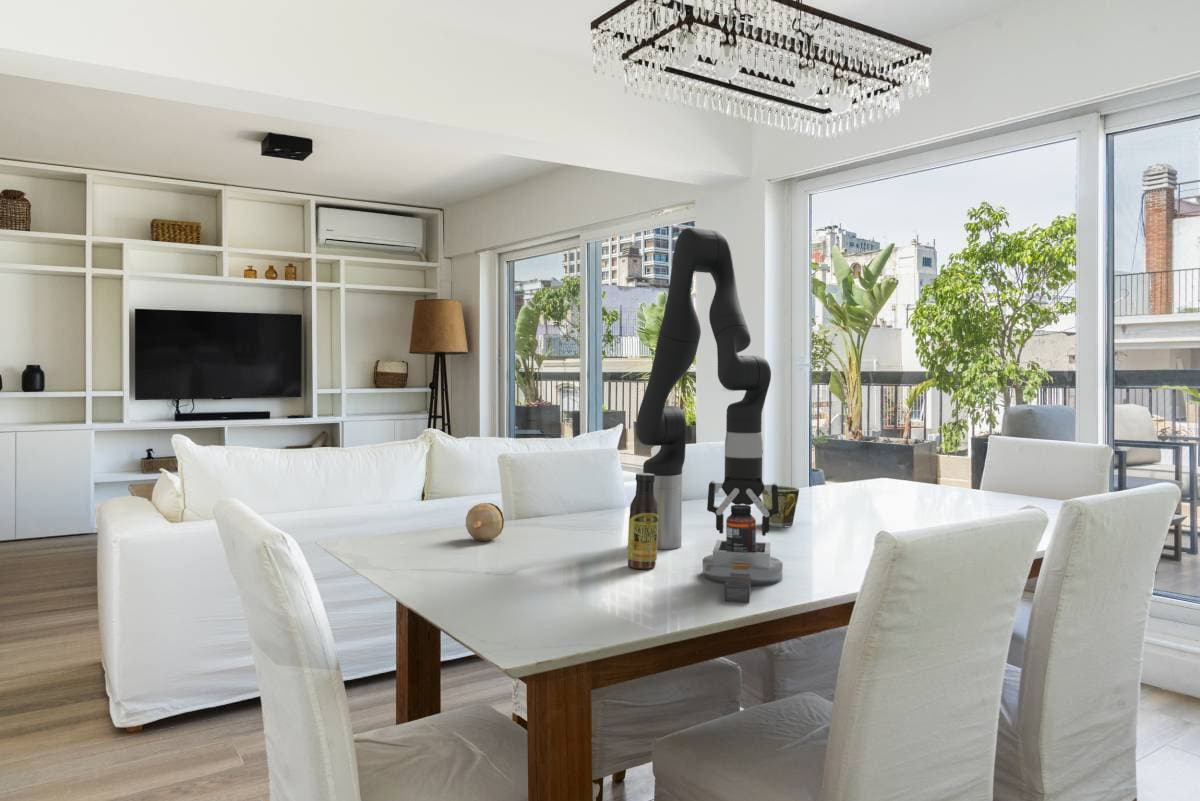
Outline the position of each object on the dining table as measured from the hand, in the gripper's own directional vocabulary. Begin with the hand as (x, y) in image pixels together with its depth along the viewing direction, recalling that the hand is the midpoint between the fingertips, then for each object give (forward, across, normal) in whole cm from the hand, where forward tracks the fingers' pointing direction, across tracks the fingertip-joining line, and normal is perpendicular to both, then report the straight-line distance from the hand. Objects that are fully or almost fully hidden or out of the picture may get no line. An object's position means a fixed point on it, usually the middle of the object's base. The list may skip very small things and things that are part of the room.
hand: (742, 533), depth 169 cm
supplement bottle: (+6, 0, 0) cm, 6 cm away
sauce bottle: (+9, -21, +3) cm, 23 cm away
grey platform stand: (+9, 0, -6) cm, 10 cm away
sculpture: (+9, -63, +20) cm, 67 cm away
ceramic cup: (+9, +8, +58) cm, 59 cm away
